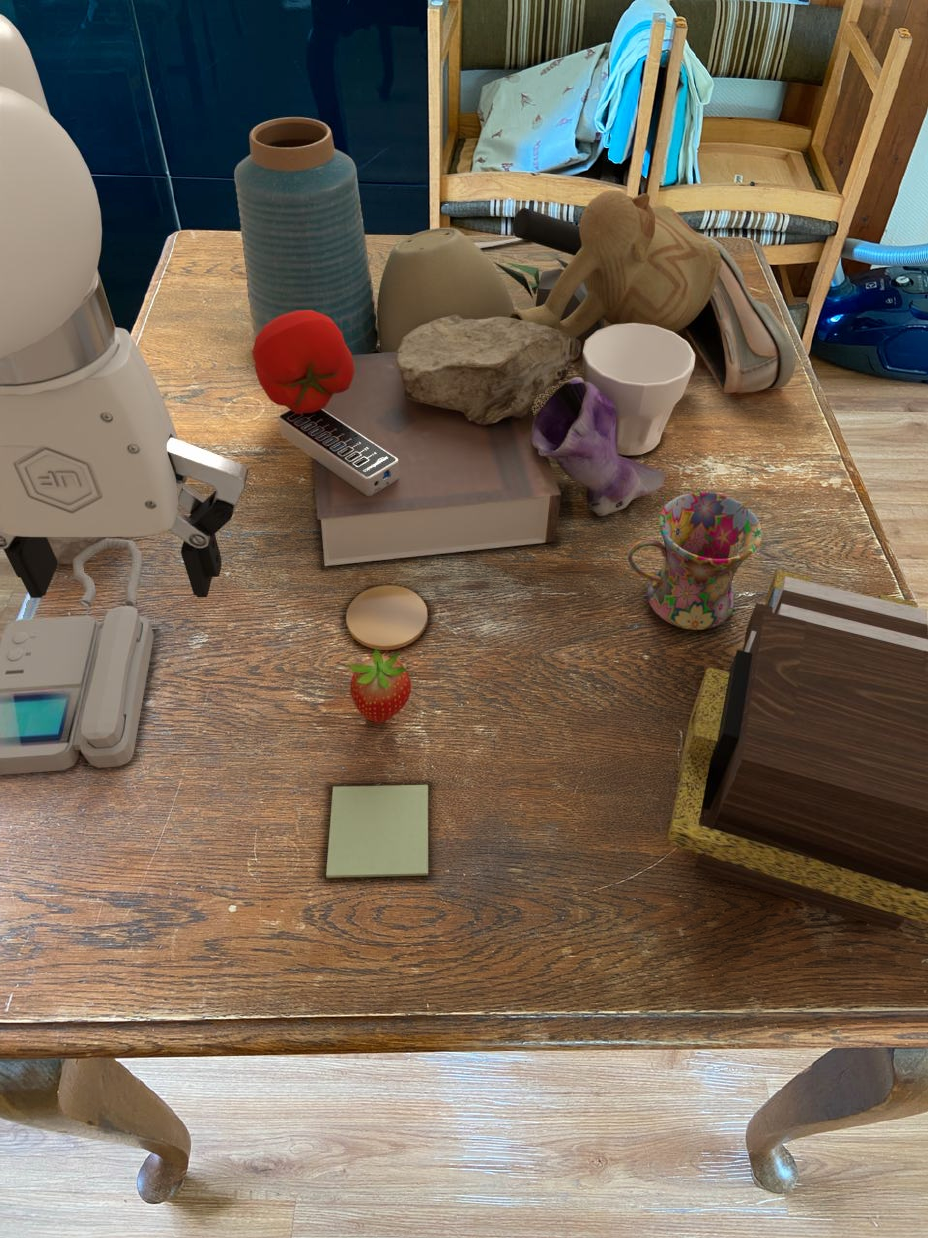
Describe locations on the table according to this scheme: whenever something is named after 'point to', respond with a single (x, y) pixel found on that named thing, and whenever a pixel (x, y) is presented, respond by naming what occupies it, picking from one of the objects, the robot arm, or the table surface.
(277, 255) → the vase
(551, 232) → the flashlight
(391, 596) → the coaster
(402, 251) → the flower pot
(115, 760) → the intercom
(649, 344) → the cup
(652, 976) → the table surface
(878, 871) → the brown wooden box
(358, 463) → the multiport hub
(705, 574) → the mug
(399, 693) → the fruit
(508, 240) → the knife
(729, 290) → the loafer
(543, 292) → the succulent plant
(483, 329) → the rock
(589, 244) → the ceramic vessel
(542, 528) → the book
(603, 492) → the figurine
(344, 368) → the tomato
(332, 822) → the napkin
